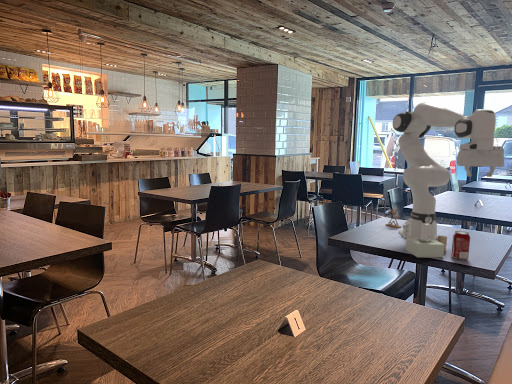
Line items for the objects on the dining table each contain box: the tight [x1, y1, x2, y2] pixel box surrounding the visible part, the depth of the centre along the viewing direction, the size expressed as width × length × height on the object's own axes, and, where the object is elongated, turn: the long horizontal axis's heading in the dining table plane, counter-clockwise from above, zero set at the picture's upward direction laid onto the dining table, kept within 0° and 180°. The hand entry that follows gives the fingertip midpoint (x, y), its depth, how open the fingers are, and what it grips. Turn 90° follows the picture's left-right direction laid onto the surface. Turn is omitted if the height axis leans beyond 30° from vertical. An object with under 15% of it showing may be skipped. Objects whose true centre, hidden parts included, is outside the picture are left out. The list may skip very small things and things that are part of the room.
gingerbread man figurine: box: [385, 206, 402, 230], centre depth 238 cm, size 9×4×12 cm, turn 35°
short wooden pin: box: [436, 235, 448, 253], centre depth 187 cm, size 4×4×7 cm
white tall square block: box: [420, 223, 431, 243], centre depth 181 cm, size 4×4×14 cm
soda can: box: [450, 230, 471, 261], centre depth 175 cm, size 7×7×12 cm
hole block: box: [405, 238, 445, 258], centre depth 182 cm, size 12×12×6 cm
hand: (479, 176), depth 178 cm, fingers open, 8 cm apart
